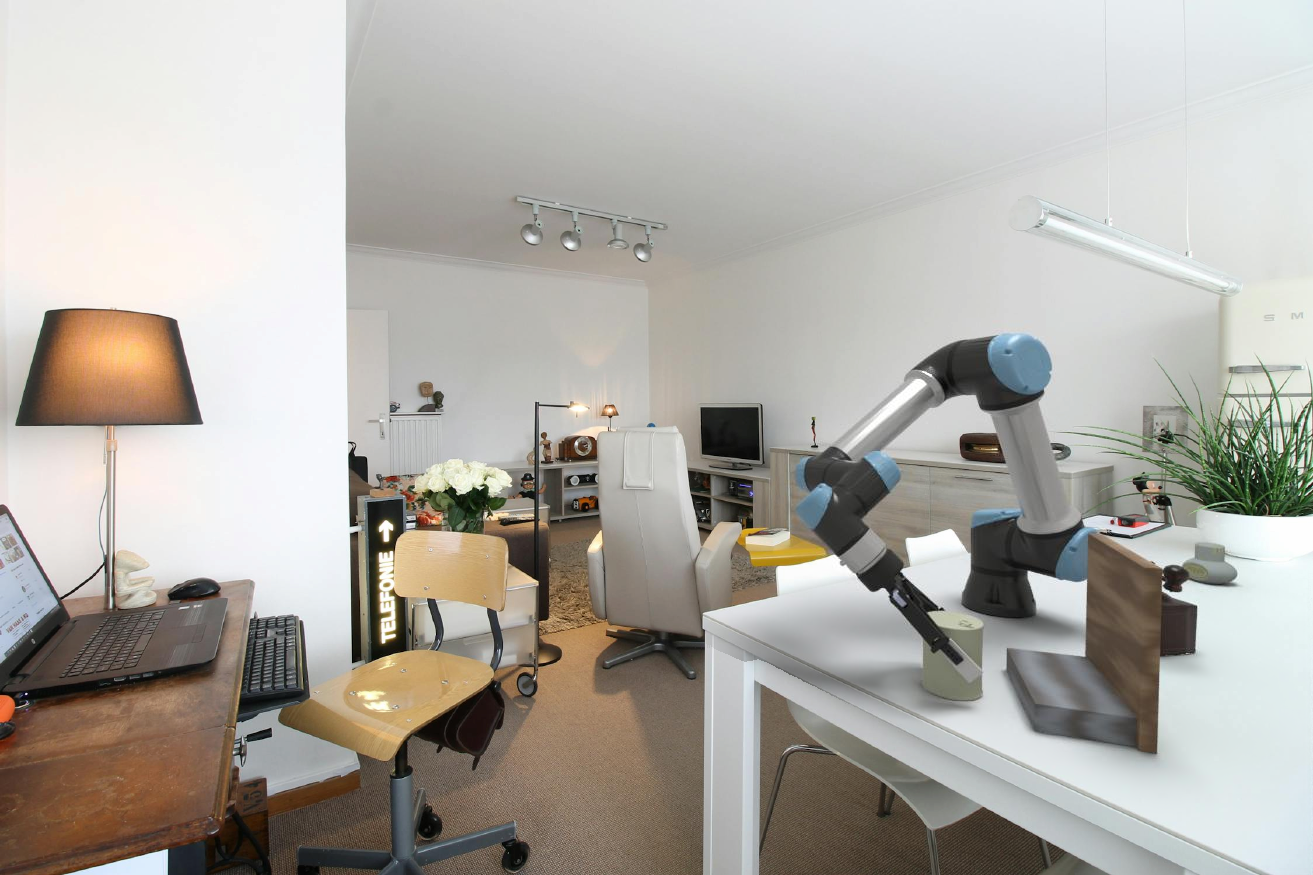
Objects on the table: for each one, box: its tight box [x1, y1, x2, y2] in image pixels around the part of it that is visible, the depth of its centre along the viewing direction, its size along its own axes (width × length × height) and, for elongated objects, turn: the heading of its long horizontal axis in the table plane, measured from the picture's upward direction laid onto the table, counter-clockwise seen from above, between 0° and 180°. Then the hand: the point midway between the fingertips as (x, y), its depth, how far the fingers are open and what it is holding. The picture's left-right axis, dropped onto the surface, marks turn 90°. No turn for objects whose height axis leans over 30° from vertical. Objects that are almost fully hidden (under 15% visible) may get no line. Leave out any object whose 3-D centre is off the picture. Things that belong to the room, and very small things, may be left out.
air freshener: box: [1181, 541, 1238, 585], centre depth 162 cm, size 11×8×10 cm
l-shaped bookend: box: [1006, 533, 1164, 754], centre depth 95 cm, size 14×24×25 cm, turn 159°
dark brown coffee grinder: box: [1149, 560, 1198, 657], centre depth 116 cm, size 16×11×18 cm
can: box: [921, 610, 985, 702], centre depth 101 cm, size 9×9×12 cm
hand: (971, 662), depth 100 cm, fingers open, 11 cm apart
